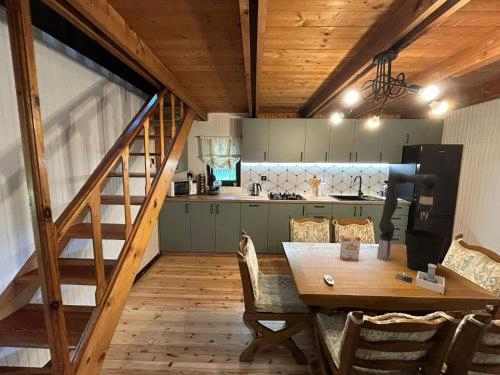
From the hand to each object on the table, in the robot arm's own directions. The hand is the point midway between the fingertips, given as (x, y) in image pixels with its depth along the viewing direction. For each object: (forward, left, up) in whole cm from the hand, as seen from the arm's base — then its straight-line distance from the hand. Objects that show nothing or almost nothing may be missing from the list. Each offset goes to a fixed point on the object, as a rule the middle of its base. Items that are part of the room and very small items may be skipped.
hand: (423, 225), depth 171 cm
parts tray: (+8, -7, -40) cm, 41 cm away
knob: (+8, -7, -39) cm, 41 cm away
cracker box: (-48, 0, -40) cm, 63 cm away
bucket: (+1, +21, -40) cm, 45 cm away
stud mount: (-7, -8, -40) cm, 41 cm away
